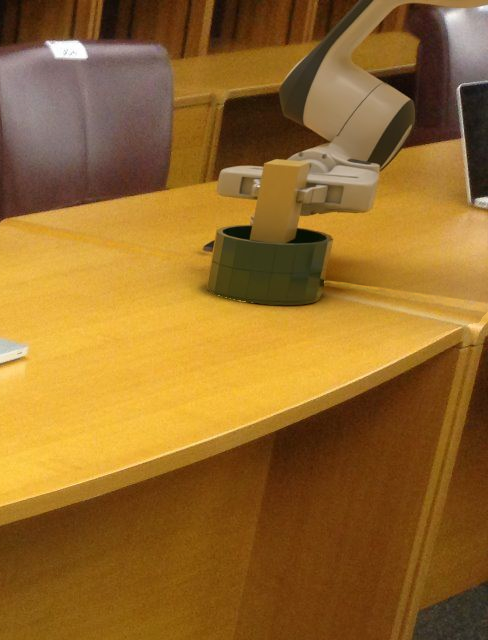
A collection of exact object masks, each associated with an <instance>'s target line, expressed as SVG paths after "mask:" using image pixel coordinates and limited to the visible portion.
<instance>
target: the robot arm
mask: <svg viewBox="0 0 488 640" xmlns="http://www.w3.org/2000/svg"><path fill="white" fill-rule="evenodd" d="M407 4H423V5H424V4H425V5H431V6H432V5H433V6H438V7H447V8H455V9H471V8H481V7H485V6H488V0H358V1H357V2H356V3H355V4H354V5H353V6H352V7H351V9H349V11H348V12H347V13H346V14H345V15H344V16H343V17H342V18H341V19H340V20H339V22H338V23H336V25H335V26H334V27H333V28H332V29H331V30H330V31H329V32H328V33H327V34H326V35H325V37H324V38H323V39H322V40H321V41H320V42H319V43H318V44H317V45H316V46H315V47H314V48H313V49H312V50H311V51H310V52H309V53H308V54H307V55H305V56H303V58H302V59H300V60H299V61H298V62H297V63H296V64H295V65H294V66H293V67H292V68H291V70H290V71H289V72H288V73H287V74H286V76H285V78H284V79H283V81H282V84H281V85H280V87H279V89H278V92H279V93H278V94H279V103H280V107H281V111H282V114H283V116H284V117H285V118H286V119H288V120H291V121H293V122H295V123H297V124H299V125H300V126H303V127H305V128H307V129H310V130H312V131H313V132H314V133H316V134H317V135H319V136H321V138H324V139H325V140H327V141H328V142H327V143H322V144H319V145H317V146H315V147H311V148H308V149H305V150H303V151H299V152H297V153H295V154H293V155H291V156H290V157H288V158H287V159H286V160H291V161H303V162H310V167H309V172H308V177H307V182H306V187H305V188H300V189H299V190H298V192H297V197H296V203H302V207H301V212H300V217H310V216H314V215H325V214H330V213H331V214H332V213H337V214H339V213H340V214H341V213H348V214H352V213H353V214H366V213H368V212H371V210H373V207H374V203H375V199H376V196H377V191H378V185H379V181H380V173H381V172H382V171H383V170H384V169H385V168H387V167H388V166H389V165H390V164H391V163H392V162H393V160H394V159H395V158H396V157H397V156H398V154H399V153H400V152H401V151H402V149H403V148H404V147H405V145H406V143H407V142H408V141H409V139H410V138H411V135H412V133H413V131H414V128H415V123H416V122H415V121H416V108H415V103H414V100H413V99H411V98H410V97H408V96H407V95H405V94H404V93H402V92H401V91H399V90H398V89H396V88H395V87H393V86H391V85H390V84H388V83H387V82H384V81H382V80H381V79H379V78H377V77H376V76H374V75H372V74H371V73H369V72H368V71H366V70H365V69H363V68H362V67H360V66H359V65H357V64H356V63H355V62H353V60H352V53H354V51H355V50H356V49H357V48H359V46H360V45H361V44H362V43H363V42H364V40H365V39H367V37H368V36H369V35H370V34H371V33H372V32H373V31H374V30H375V29H376V28H377V27H378V26H379V25H380V23H381V22H382V21H383V20H385V18H386V17H387V16H388V15H390V13H391V12H392V11H393V10H394V9H396V8H397V7H399V6H401V5H407ZM263 167H264V166H260V165H259V166H257V165H236V166H231V167H226V168H225V167H224V168H223V169H221V170H220V172H219V175H218V180H217V184H216V185H217V186H216V194H217V195H218V196H220V197H223V198H231V199H232V198H233V199H242V200H243V199H244V200H254V201H257V198H258V193H259V188H260V183H261V177H262V172H263Z"/></svg>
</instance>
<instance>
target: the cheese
mask: <svg viewBox="0 0 488 640" xmlns="http://www.w3.org/2000/svg"><path fill="white" fill-rule="evenodd" d="M262 167H263V172H262V177H261V183H260V188H259V193H258V198H257V200H256V204H255V210H254V213H253V214H254V220H253V225H252V230H251V235H250V240H253V241H262V242H271V243H287V242H289V241H291V240H293V239H295V236H296V232H297V228H299V227H298V225H299V221H300V218H301V216H300V212H301V207H302V203H296V197H297V192H298V190H299V189H300V188H305V187H306V182H307V177H308V172H309V167H310V162H303V161H291V160H287V159H279V158H275V159H273V160H270V161H267V162H264V163H263V166H262Z"/></svg>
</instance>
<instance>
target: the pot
mask: <svg viewBox="0 0 488 640" xmlns="http://www.w3.org/2000/svg"><path fill="white" fill-rule="evenodd" d="M251 230H252V225H250V224H238V225H237V224H235V225H227V226H222V227H220V228H217V229H216V230H215V237H214V240H215V242H214V247H213V252H211V260H210V265H209V270H208V275H207V276H208V277H207V281H206V290H207V289H208V290H209V291H210V292H209V291H208V290H207V291H208V292H209V293H211V292H212V293H211V294H213V293H214V294H213V295H215V294H217V295H220V296H223V297H227V298H231V299H235V300H241V301H246V302H253V303H259V304H258V305H263V304H267V305H266V306H301V305H307V304H308V305H309V304H313V303H316V302H318V301H319V300H321V296H323V290H324V285H325V281H326V276H327V272H328V267H329V261H330V256H331V252H332V247H333V243H334V237H333V236H332V235H330V234H328V233H326V232H323V231H318V230H315V229H310V228H302V227H297V232H296V236H295V239H293V240H291V241H289V242H287V243H271V242H262V241H253V240H250V235H251ZM217 295H216V296H217ZM220 296H219V297H220ZM223 297H222V298H223Z"/></svg>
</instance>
